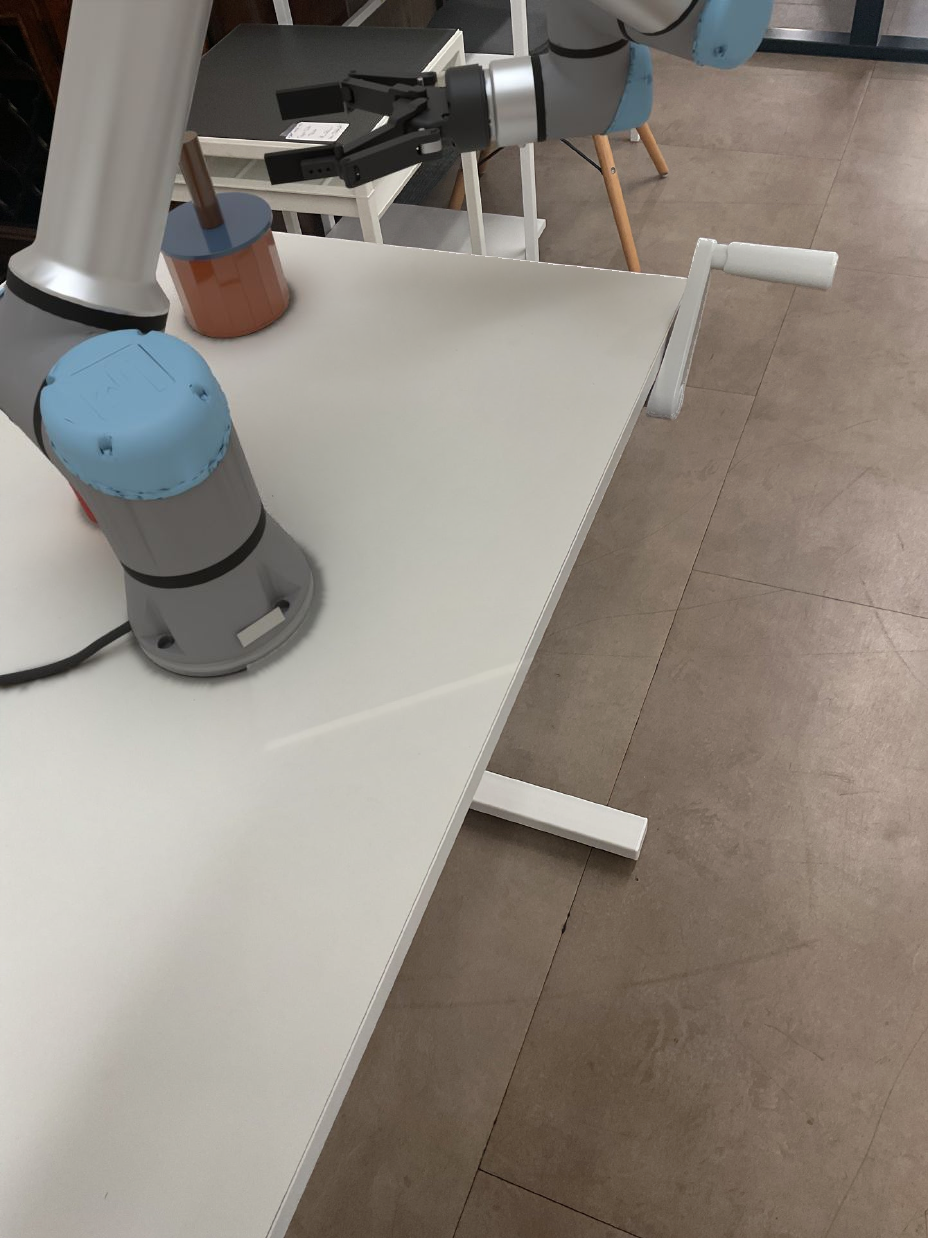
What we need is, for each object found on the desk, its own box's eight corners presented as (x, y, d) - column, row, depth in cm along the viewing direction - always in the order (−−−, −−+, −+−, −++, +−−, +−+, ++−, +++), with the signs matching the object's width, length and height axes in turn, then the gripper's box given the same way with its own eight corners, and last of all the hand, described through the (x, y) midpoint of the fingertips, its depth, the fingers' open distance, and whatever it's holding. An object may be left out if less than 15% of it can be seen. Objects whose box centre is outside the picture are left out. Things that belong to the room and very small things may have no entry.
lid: (228, 275, 101) (195, 176, 93) (132, 255, 106) (94, 159, 98) (297, 211, 107) (271, 114, 100) (204, 195, 112) (173, 101, 104)
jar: (195, 349, 109) (164, 270, 102) (182, 294, 116) (153, 217, 109) (298, 320, 110) (276, 240, 103) (279, 267, 118) (257, 189, 110)
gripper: (500, 208, 92) (273, 238, 94) (485, 90, 108) (292, 117, 110) (493, 125, 87) (251, 158, 88) (478, 14, 103) (274, 43, 104)
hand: (273, 136), depth 99 cm, fingers open, 13 cm apart
